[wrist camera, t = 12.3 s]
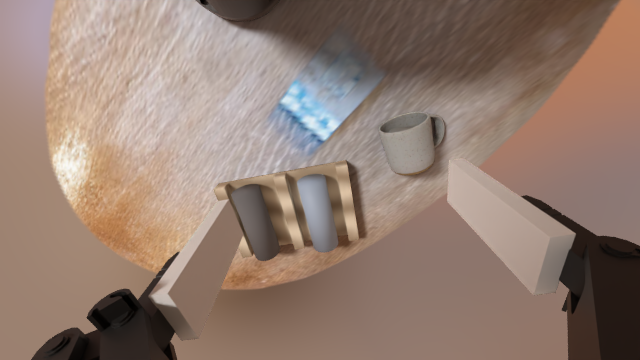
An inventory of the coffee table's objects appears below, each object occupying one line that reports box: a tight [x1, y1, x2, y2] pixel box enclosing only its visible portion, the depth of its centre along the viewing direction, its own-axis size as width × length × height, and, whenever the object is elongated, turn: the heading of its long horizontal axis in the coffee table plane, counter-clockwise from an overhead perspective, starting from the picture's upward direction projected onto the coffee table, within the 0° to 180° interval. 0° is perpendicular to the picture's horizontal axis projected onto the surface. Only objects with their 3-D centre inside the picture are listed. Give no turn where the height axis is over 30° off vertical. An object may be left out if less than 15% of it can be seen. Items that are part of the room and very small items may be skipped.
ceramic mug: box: [378, 112, 445, 175], centre depth 38 cm, size 11×8×8 cm
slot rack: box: [214, 160, 359, 258], centre depth 46 cm, size 16×24×3 cm, turn 101°
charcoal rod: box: [231, 184, 280, 261], centre depth 45 cm, size 14×5×5 cm, turn 11°
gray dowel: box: [297, 174, 338, 252], centre depth 44 cm, size 14×5×5 cm, turn 11°
